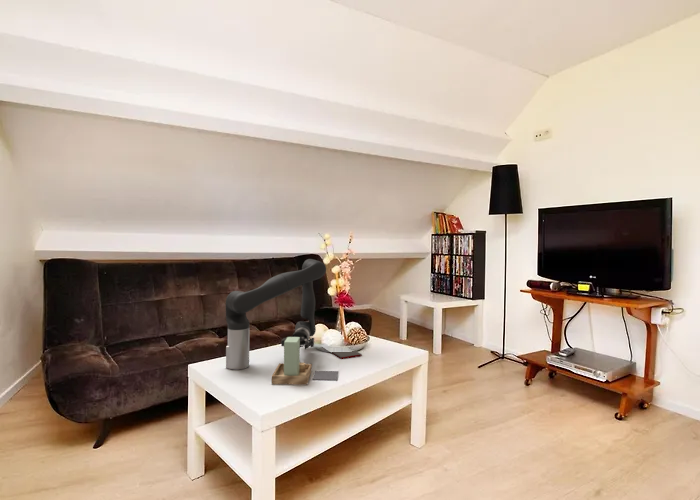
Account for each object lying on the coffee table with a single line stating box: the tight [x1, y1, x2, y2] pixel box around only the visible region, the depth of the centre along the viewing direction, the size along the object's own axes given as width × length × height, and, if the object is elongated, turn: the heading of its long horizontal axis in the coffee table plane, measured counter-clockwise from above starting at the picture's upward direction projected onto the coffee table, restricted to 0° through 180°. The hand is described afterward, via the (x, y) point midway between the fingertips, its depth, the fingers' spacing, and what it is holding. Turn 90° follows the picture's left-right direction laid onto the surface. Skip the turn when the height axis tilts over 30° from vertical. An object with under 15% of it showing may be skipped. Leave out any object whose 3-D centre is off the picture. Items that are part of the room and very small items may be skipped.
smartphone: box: [330, 350, 363, 360], centre depth 195 cm, size 12×2×25 cm
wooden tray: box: [271, 362, 313, 386], centre depth 157 cm, size 14×15×3 cm
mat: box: [312, 370, 339, 381], centre depth 159 cm, size 10×10×1 cm
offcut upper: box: [299, 362, 306, 369], centre depth 161 cm, size 6×3×2 cm, turn 89°
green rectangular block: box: [283, 336, 301, 376], centre depth 155 cm, size 5×8×15 cm, turn 179°
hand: (295, 346), depth 164 cm, fingers open, 8 cm apart
